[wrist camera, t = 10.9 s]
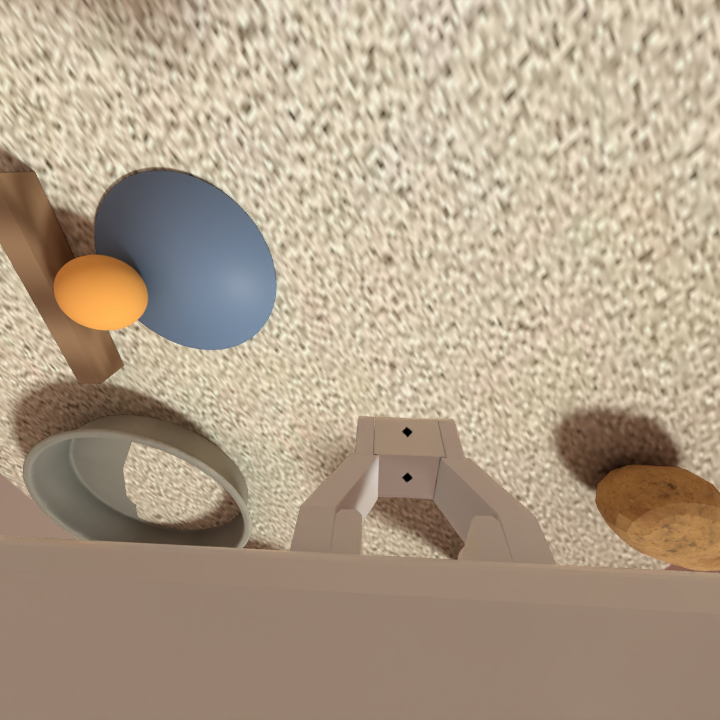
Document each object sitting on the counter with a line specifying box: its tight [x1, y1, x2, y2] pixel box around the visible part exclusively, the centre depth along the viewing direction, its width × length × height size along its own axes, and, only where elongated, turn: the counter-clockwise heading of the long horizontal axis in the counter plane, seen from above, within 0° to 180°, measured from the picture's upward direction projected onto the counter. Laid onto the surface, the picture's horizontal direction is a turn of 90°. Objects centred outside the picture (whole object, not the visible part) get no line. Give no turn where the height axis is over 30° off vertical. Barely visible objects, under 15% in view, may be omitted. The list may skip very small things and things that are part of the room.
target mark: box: [94, 170, 276, 350], centre depth 26 cm, size 14×14×1 cm
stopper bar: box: [0, 172, 124, 384], centre depth 26 cm, size 16×2×3 cm, turn 1°
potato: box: [595, 465, 720, 571], centre depth 32 cm, size 10×14×8 cm
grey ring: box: [23, 415, 252, 548], centre depth 39 cm, size 25×25×4 cm
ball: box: [54, 255, 148, 330], centre depth 24 cm, size 6×6×6 cm
